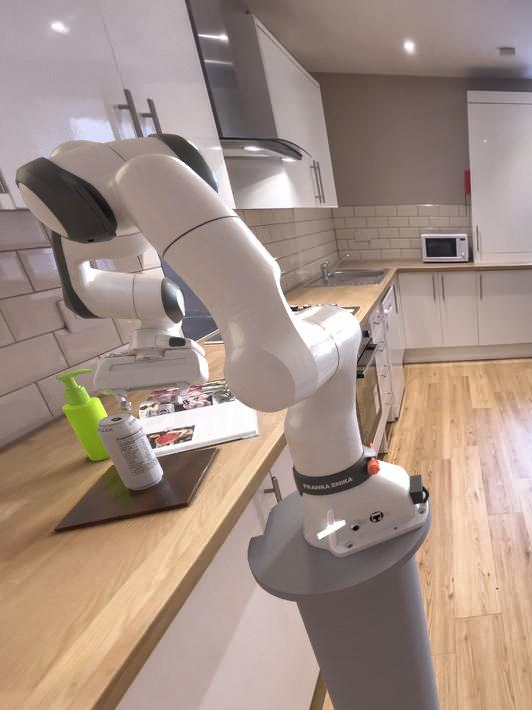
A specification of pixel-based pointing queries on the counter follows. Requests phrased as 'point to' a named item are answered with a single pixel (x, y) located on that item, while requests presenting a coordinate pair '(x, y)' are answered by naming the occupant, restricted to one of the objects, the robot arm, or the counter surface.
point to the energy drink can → (130, 450)
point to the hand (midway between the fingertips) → (150, 407)
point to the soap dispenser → (84, 415)
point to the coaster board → (141, 491)
